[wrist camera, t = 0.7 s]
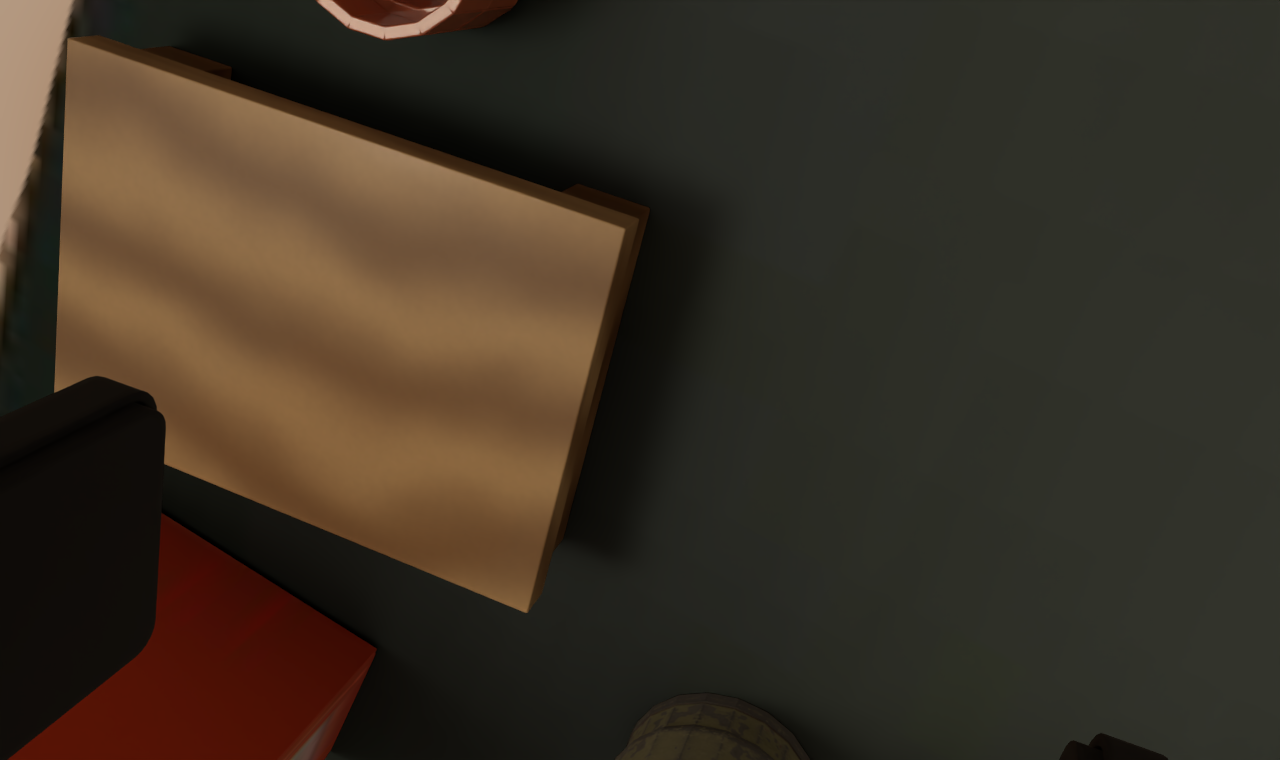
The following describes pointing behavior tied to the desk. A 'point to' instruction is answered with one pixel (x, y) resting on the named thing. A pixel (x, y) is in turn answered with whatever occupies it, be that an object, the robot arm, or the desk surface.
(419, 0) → the dip bowl
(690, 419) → the desk surface
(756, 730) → the stone idol statue
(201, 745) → the file binder
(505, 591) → the oak riser board
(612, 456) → the desk surface
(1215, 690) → the desk surface
